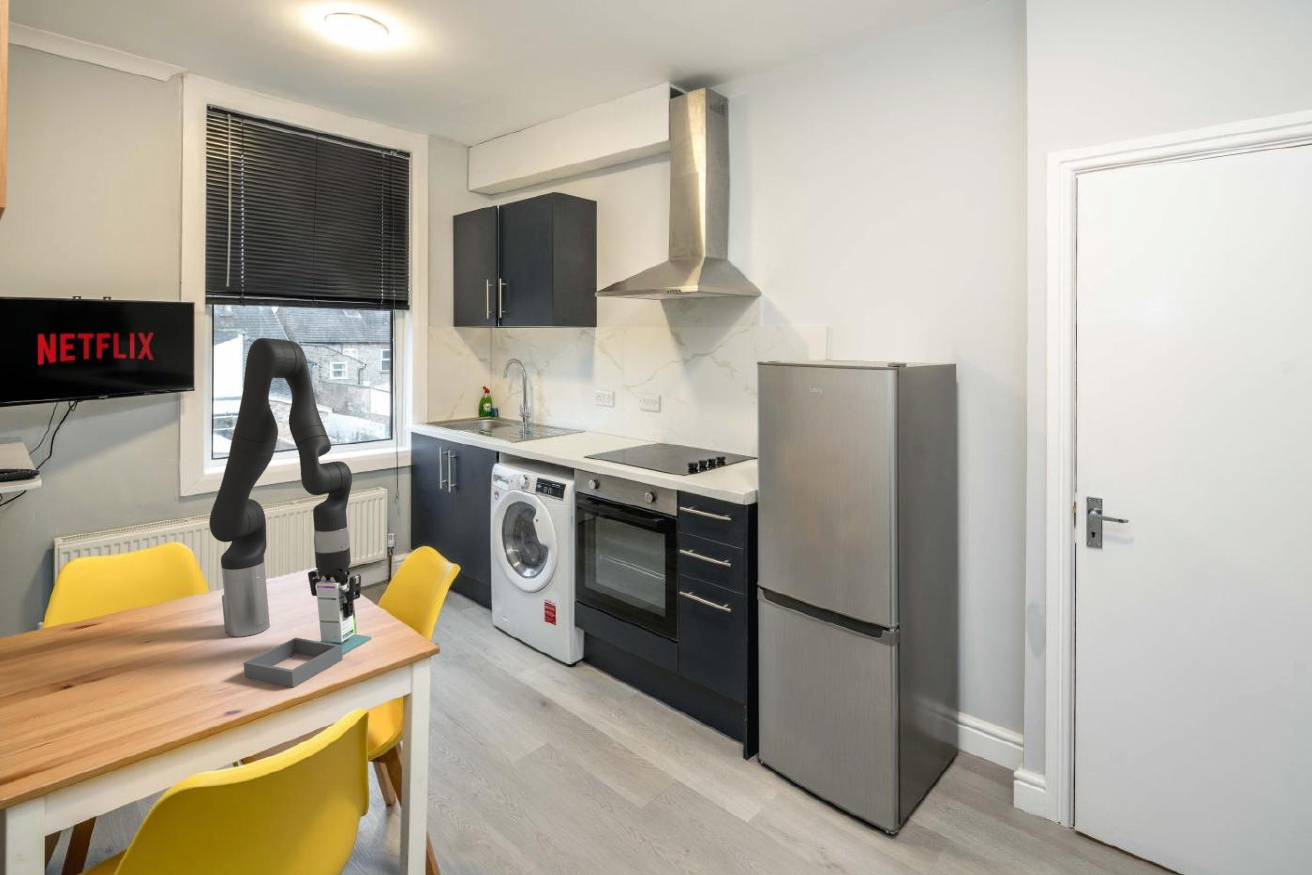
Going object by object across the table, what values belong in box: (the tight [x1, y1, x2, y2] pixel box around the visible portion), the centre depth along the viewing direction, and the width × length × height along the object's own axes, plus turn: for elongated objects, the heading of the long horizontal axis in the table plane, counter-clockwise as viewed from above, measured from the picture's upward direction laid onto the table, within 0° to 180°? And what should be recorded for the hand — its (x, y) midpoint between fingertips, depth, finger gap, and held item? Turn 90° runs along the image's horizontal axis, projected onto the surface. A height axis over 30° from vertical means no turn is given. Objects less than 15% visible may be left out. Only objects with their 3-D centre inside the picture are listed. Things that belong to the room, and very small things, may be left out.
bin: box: [243, 637, 343, 688], centre depth 152 cm, size 14×14×4 cm
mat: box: [319, 633, 372, 656], centre depth 164 cm, size 10×10×1 cm
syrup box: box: [316, 580, 358, 643], centre depth 163 cm, size 6×6×14 cm
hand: (337, 614), depth 163 cm, fingers closed on syrup box, 6 cm apart
